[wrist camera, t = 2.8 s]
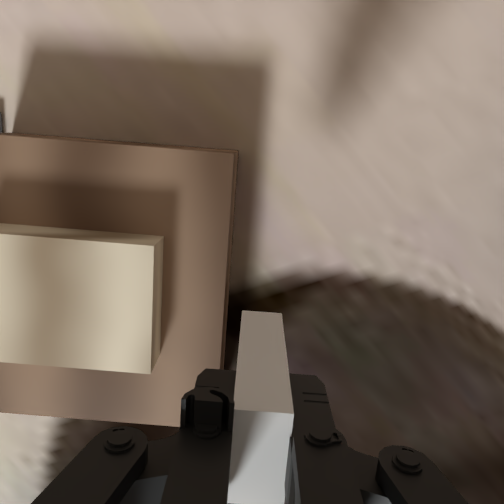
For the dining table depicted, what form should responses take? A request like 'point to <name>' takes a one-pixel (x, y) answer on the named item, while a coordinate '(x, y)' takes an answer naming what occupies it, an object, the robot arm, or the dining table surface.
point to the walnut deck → (134, 222)
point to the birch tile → (80, 298)
